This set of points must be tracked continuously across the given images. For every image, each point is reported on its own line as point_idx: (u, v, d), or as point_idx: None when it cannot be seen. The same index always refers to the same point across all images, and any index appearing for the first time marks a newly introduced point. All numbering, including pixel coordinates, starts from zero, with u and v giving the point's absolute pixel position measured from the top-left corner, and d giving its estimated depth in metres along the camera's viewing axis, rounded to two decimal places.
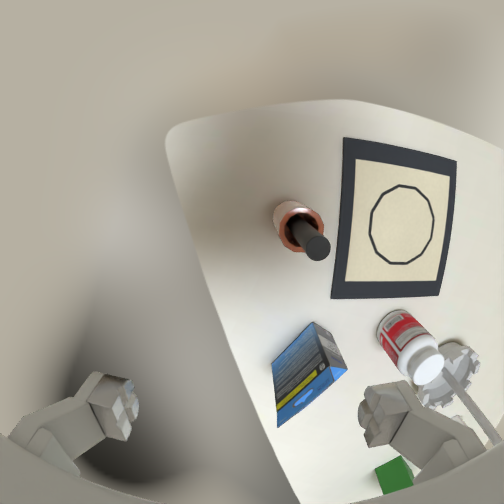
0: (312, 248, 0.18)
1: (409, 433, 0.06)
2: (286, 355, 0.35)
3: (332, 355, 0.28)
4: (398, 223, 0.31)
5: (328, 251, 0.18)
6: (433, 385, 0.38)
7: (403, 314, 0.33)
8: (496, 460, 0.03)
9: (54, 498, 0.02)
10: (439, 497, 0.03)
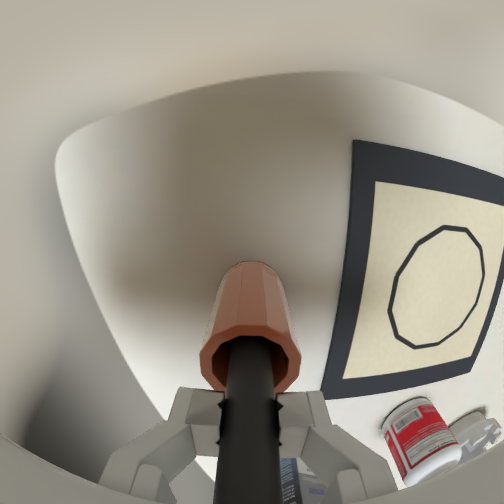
0: None
1: (314, 451, 0.06)
2: None
3: (310, 487, 0.15)
4: (436, 288, 0.18)
5: None
6: None
7: (422, 407, 0.19)
8: (496, 460, 0.03)
9: (54, 498, 0.02)
10: (439, 497, 0.03)
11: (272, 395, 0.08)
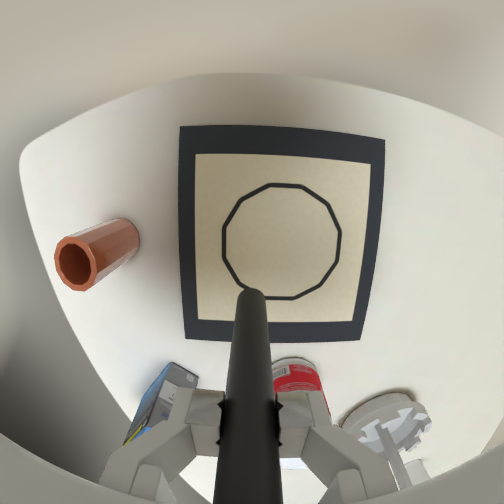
0: None
1: (314, 451, 0.06)
2: (147, 393, 0.27)
3: (165, 411, 0.21)
4: (273, 241, 0.24)
5: None
6: (368, 439, 0.31)
7: (293, 366, 0.25)
8: (496, 460, 0.03)
9: (54, 498, 0.02)
10: (439, 497, 0.03)
11: (272, 396, 0.08)
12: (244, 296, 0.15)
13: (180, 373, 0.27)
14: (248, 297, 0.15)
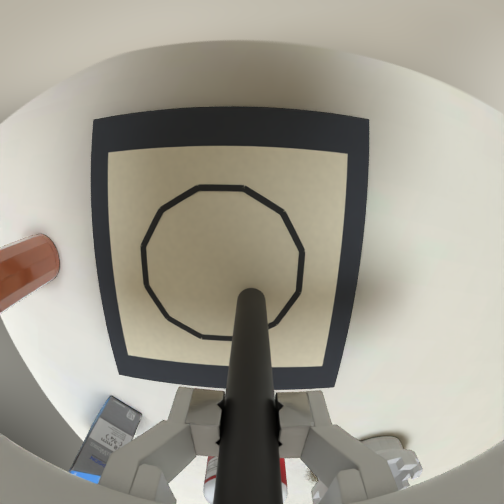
0: None
1: (314, 451, 0.06)
2: None
3: (94, 454, 0.14)
4: (207, 265, 0.17)
5: None
6: None
7: None
8: (496, 460, 0.03)
9: (54, 498, 0.02)
10: (439, 497, 0.03)
11: (272, 396, 0.08)
12: (244, 296, 0.15)
13: (119, 410, 0.20)
14: (248, 297, 0.15)
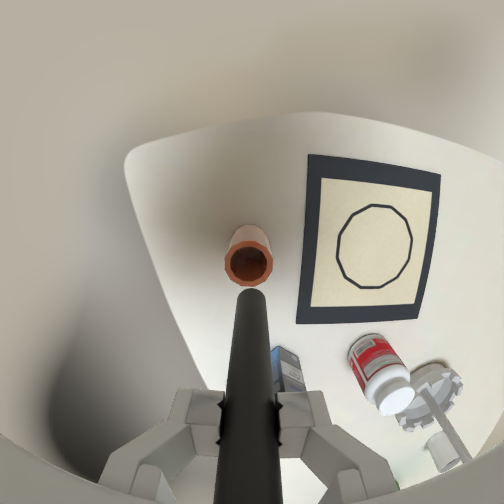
0: None
1: (314, 451, 0.06)
2: None
3: (291, 384, 0.28)
4: (371, 245, 0.30)
5: None
6: (413, 405, 0.37)
7: (376, 339, 0.32)
8: (496, 460, 0.03)
9: (54, 498, 0.02)
10: (439, 497, 0.03)
11: (272, 397, 0.08)
12: (244, 296, 0.15)
13: (287, 354, 0.33)
14: (248, 297, 0.15)
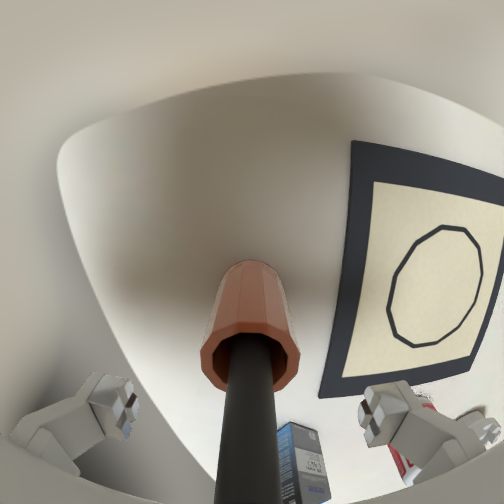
0: None
1: (409, 433, 0.06)
2: None
3: (310, 485, 0.15)
4: (434, 287, 0.18)
5: None
6: None
7: None
8: (496, 460, 0.03)
9: (54, 498, 0.02)
10: (439, 497, 0.03)
11: (271, 394, 0.08)
12: None
13: (303, 433, 0.21)
14: None
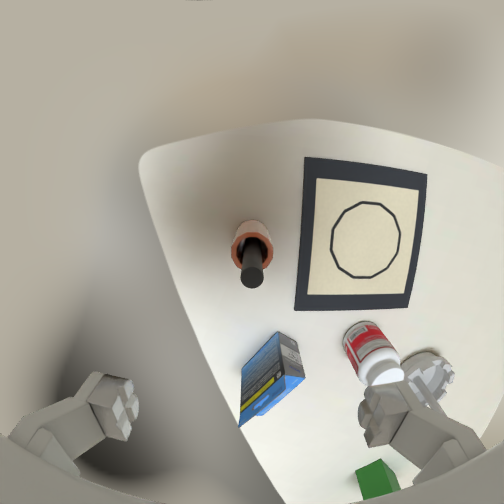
0: (246, 277, 0.20)
1: (409, 433, 0.06)
2: (253, 361, 0.38)
3: (290, 364, 0.31)
4: (361, 239, 0.34)
5: (261, 280, 0.20)
6: None
7: (368, 326, 0.36)
8: (496, 460, 0.03)
9: (54, 498, 0.02)
10: (439, 497, 0.03)
11: (260, 256, 0.25)
12: None
13: (286, 339, 0.37)
14: None
